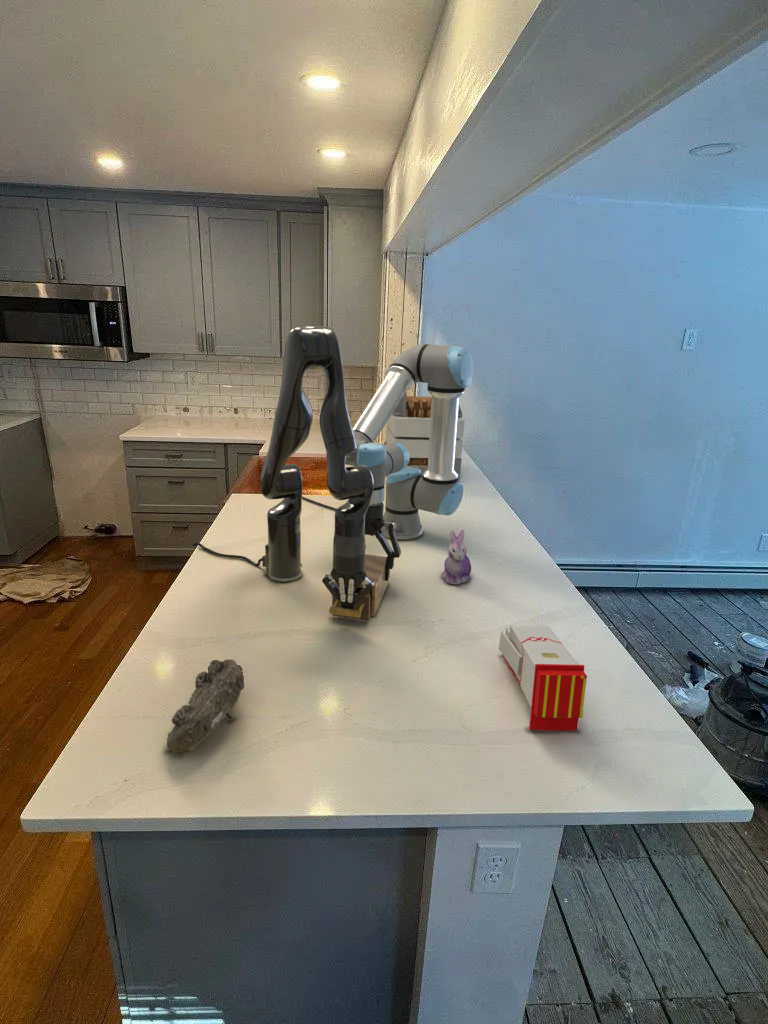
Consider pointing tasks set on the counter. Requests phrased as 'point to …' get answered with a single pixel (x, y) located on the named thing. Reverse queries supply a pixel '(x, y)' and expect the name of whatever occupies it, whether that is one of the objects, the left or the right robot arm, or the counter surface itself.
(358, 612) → the drawer
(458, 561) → the figurine
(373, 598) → the cabinet
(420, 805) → the counter surface
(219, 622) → the counter surface
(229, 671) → the fossil
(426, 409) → the grey slatted crate
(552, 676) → the toy
